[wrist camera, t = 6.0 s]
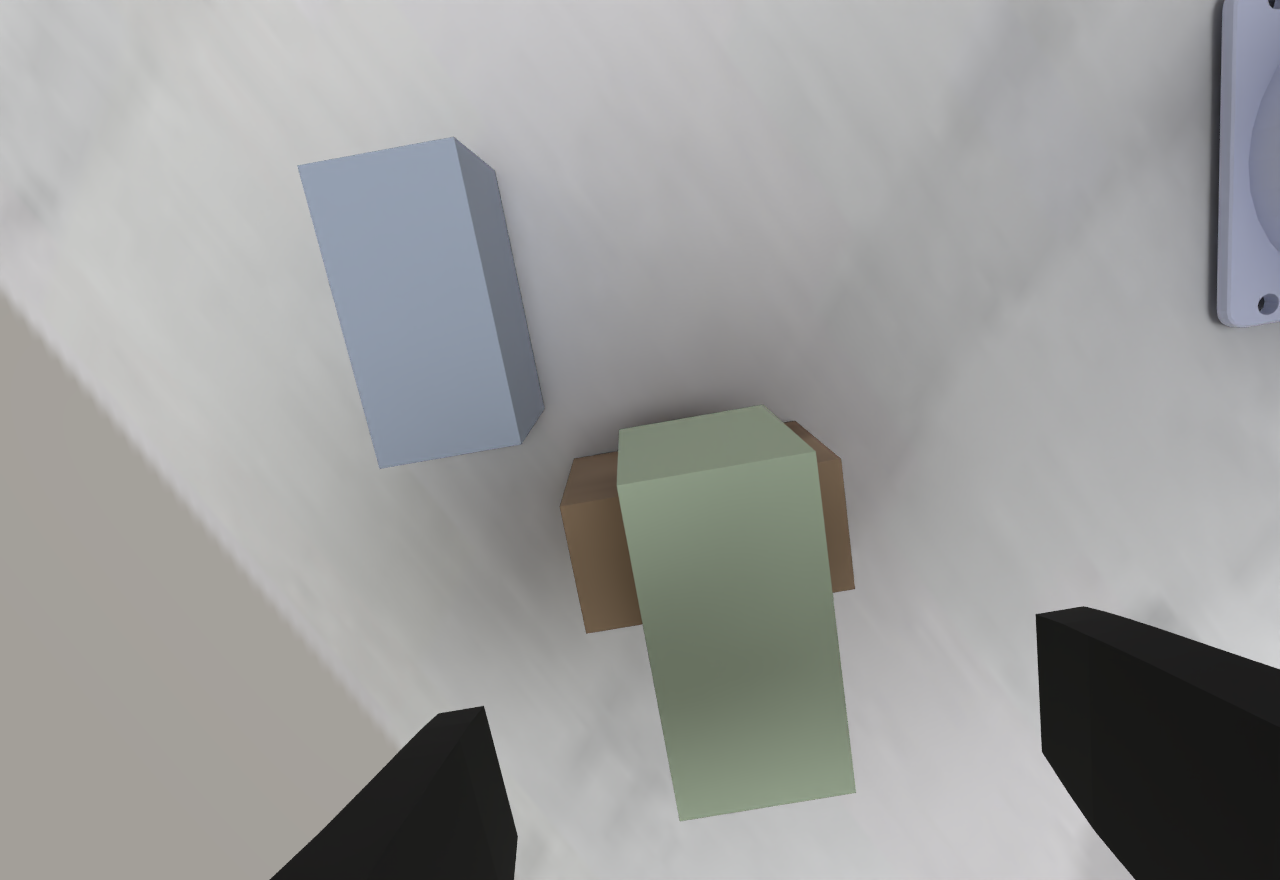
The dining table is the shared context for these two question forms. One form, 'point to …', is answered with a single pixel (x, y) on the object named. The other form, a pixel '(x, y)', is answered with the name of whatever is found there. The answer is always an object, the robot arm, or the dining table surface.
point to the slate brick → (426, 299)
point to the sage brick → (736, 609)
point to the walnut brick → (605, 548)
